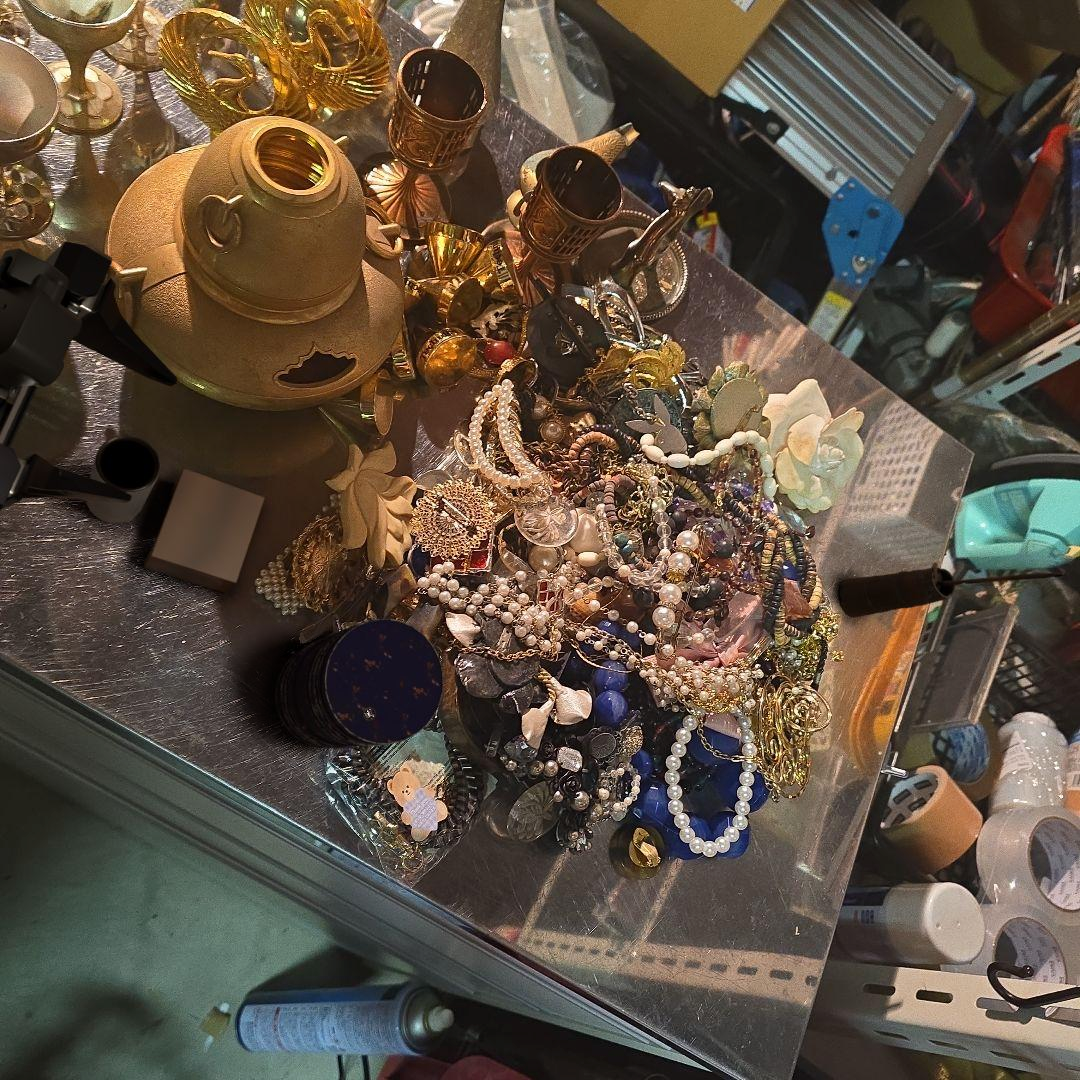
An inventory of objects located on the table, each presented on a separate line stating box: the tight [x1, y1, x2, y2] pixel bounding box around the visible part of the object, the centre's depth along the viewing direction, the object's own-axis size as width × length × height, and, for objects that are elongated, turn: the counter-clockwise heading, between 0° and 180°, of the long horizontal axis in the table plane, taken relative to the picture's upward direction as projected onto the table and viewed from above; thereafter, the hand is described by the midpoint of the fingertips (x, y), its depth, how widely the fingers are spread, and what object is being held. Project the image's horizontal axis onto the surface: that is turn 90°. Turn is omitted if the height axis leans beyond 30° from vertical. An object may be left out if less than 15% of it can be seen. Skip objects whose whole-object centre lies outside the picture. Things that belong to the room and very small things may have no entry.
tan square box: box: [143, 467, 266, 594], centre depth 77 cm, size 7×8×5 cm
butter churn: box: [839, 562, 1065, 618], centre depth 107 cm, size 9×10×28 cm
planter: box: [85, 434, 161, 524], centre depth 72 cm, size 4×4×10 cm
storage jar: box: [275, 618, 445, 750], centre depth 75 cm, size 10×10×15 cm
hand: (152, 439), depth 62 cm, fingers open, 9 cm apart
